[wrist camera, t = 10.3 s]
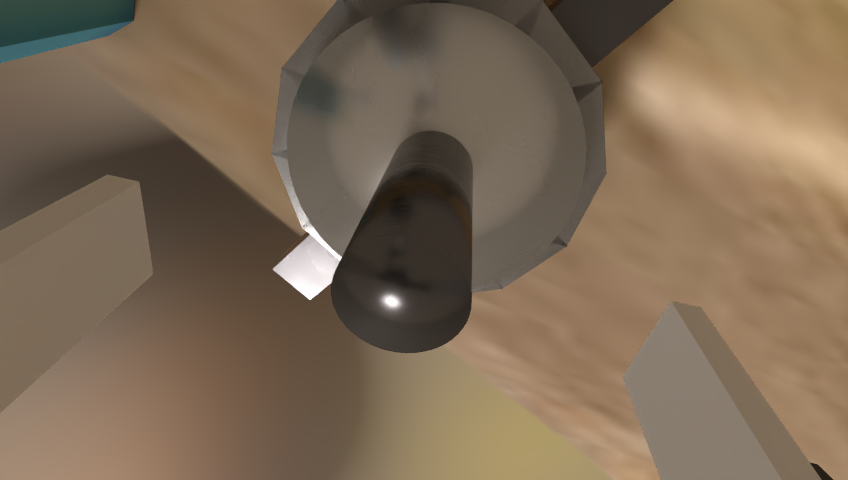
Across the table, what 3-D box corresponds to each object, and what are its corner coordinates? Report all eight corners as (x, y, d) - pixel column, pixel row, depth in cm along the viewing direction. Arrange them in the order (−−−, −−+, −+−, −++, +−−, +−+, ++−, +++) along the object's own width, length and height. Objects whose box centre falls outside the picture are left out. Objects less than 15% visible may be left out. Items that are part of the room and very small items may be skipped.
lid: (305, -32, 17) (108, -62, 8) (631, 44, 17) (809, 101, 8) (289, 248, 23) (172, 410, 14) (526, 302, 24) (558, 496, 14)
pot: (399, 298, 33) (382, 367, 27) (238, 154, 29) (175, 197, 23) (687, 88, 24) (759, 119, 18) (517, -171, 20) (536, -244, 14)
